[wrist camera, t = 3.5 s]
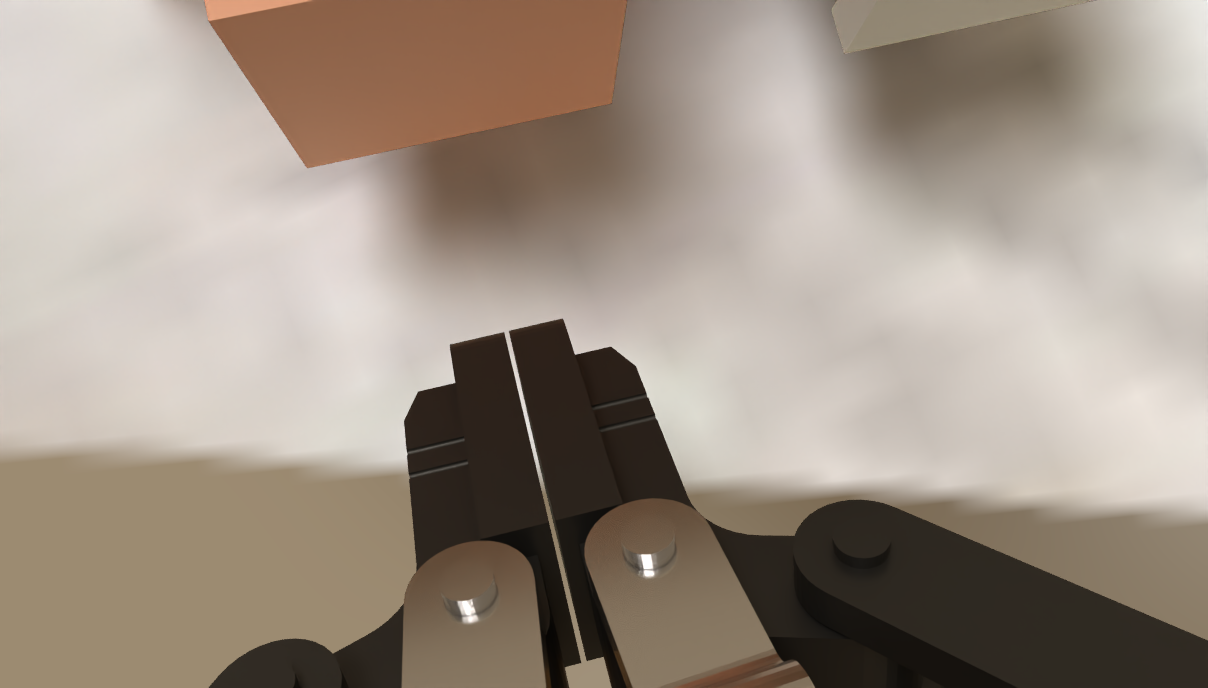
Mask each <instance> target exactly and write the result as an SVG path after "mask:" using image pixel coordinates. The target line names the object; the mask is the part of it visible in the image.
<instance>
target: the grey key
mask: <svg viewBox="0 0 1208 688" xmlns="http://www.w3.org/2000/svg"><path fill="white" fill-rule="evenodd" d="M1090 1H1095V0H837V1H836V2H835V4H834V6H833V8H832V10H831V12H832V15H833V18H834V22H835V25H836V28H837V32H838V35H839V38H840V42H841V45H842V48H843V52H844V54H846V53H851V52H856V51H860V50H865V49H870V48H875V47H879V46H884V45H889V44H893V43H898V42H903V41H907V40H912V39H917V38H921V37H926V36H931V35H936V34H940V33H945V32H950V31H954V30H959V29H964V28H968V27H973V26H978V25H983V24H987V23H992V22H997V21H1001V20H1006V19H1011V18H1015V17H1020V16H1025V15H1029V14H1034V13H1039V12H1044V11H1048V10H1053V9H1058V8H1062V7H1067V6H1072V5H1076V4H1081V3H1086V2H1090Z"/></svg>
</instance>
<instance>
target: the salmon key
mask: <svg viewBox="0 0 1208 688" xmlns="http://www.w3.org/2000/svg"><path fill="white" fill-rule="evenodd" d="M204 1H205V6H206V11H207V16H208V21H209V23H210V24H211V26H212V27H213V29H214V30H215V32H216V33H217V35H218V36H219V38H220V39H221V40H222V42H223V43H224V45H225V46H226V48H227V49H228V51H229V52H230V54H231V55H232V57H233V58H234V60H235V61H236V63H237V64H238V66H239V67H240V69H241V70H242V72H243V73H244V75H245V76H246V78H247V79H248V81H249V82H250V84H251V85H252V87H253V88H254V90H255V91H256V93H257V94H258V96H259V97H260V99H261V100H262V102H263V103H264V105H265V106H266V108H267V109H268V111H269V112H270V114H271V115H272V117H273V118H274V119H275V121H276V122H277V124H278V125H279V127H280V128H281V130H282V131H283V133H284V134H285V136H286V137H287V139H288V140H289V142H290V143H291V145H292V146H293V148H294V149H295V151H296V152H297V154H298V155H299V157H300V158H301V160H302V161H303V163H304V164H305V166H306V167H307V168H311V167H316V166H320V165H325V164H330V163H334V162H339V161H344V160H349V159H353V158H358V157H363V156H367V155H372V154H377V153H381V152H386V151H391V150H395V149H400V148H405V147H410V146H414V145H419V144H424V143H428V142H433V141H438V140H442V139H447V138H452V137H457V136H461V135H466V134H471V133H475V132H480V131H485V130H489V129H494V128H499V127H503V126H508V125H513V124H518V123H522V122H527V121H532V120H536V119H541V118H546V117H550V116H555V115H560V114H564V113H569V112H574V111H579V110H583V109H588V108H593V107H597V106H602V105H607V104H611V103H612V98H613V91H614V84H615V78H616V71H617V65H618V58H619V51H620V45H621V38H622V31H623V25H624V18H625V12H626V5H627V0H204Z"/></svg>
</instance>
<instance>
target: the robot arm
mask: <svg viewBox="0 0 1208 688" xmlns="http://www.w3.org/2000/svg"><path fill="white" fill-rule="evenodd" d="M509 333H510V338H511V342H512V347H513V351H514V356H515V360H516V364H517V369H518V373H519V378H520V382H521V386H522V391H523V395H524V400H525V404H526V408H527V413H528V417H529V422H530V426H531V430H532V435H533V439H534V443H535V448H536V452H537V456H538V460H539V465H540V469H541V473H542V477H543V481H544V485H545V490H546V494H547V498H548V502H549V506H550V510H551V514H552V519H553V523H554V527H555V531H556V535H557V539H558V543H559V548H560V551H561V556H562V560H563V564H564V568H565V573H566V577H567V581H568V585H569V589H570V593H571V597H572V601H573V606H574V610H575V614H576V618H577V622H578V626H579V631H580V635H581V639H582V643H583V647H584V652H585V656H586V660H587V661H588V660H592V659H596V658H600V657H604V659H605V663H606V667H607V671H608V675H609V679H610V683H611V686H612V688H1208V641H1207V640H1205V639H1203V638H1200V637H1198V636H1196V635H1193V634H1191V633H1189V632H1186V631H1184V630H1181V629H1179V628H1177V627H1175V626H1172V625H1170V624H1168V623H1165V622H1163V621H1161V620H1158V619H1156V618H1154V617H1151V616H1149V615H1146V614H1144V613H1142V612H1139V611H1137V610H1135V609H1132V608H1130V607H1128V606H1125V605H1123V604H1121V603H1118V602H1116V601H1114V600H1111V599H1109V598H1106V597H1104V596H1102V595H1099V594H1097V593H1094V592H1092V591H1090V590H1088V589H1085V588H1083V587H1081V586H1078V585H1076V584H1074V583H1071V582H1069V581H1067V580H1064V579H1062V578H1060V577H1057V576H1055V575H1052V574H1050V573H1048V572H1045V571H1043V570H1041V569H1038V568H1036V567H1034V566H1031V565H1029V564H1026V563H1024V562H1022V561H1020V560H1017V559H1015V558H1013V557H1010V556H1008V555H1005V554H1003V553H1001V552H998V551H996V550H994V549H991V548H989V547H987V546H984V545H982V544H980V543H977V542H975V541H973V540H970V539H968V538H965V537H963V536H961V535H959V534H956V533H954V532H951V531H949V530H947V529H944V528H942V527H940V526H937V525H935V524H933V523H930V522H928V521H926V520H923V519H921V518H918V517H916V516H914V515H912V514H909V513H907V512H904V511H902V510H900V509H897V508H895V507H892V506H890V505H887V504H884V503H880V502H875V501H868V500H847V501H840V502H836V503H833V504H829V505H826V506H824V507H822V508H820V509H818V510H816V511H815V512H813V513H812V514H810V515H809V516H808V517H807V518H806V519H805V520H804V521H803V522H802V523H801V525H800V526H799V528H798V529H797V531H796V534H795V536H759V535H747V534H742V533H736V532H732V531H730V530H726V529H724V528H721V527H719V526H717V525H715V524H713V523H712V522H710V521H708V520H707V519H705V518H704V517H703V516H702V515H701V514H700V513H698V512H697V510H696V509H695V508H694V507H693V505H692V504H691V502H690V500H689V498H688V496H687V494H686V491H685V489H684V486H683V484H682V481H681V479H680V476H679V474H678V471H677V469H676V466H675V464H674V461H673V459H672V456H671V454H670V451H669V449H668V446H667V444H666V441H665V438H664V436H663V433H662V431H661V428H660V426H659V423H658V421H657V420H656V418H655V413H654V411H653V408H652V406H651V403H650V401H649V398H647V394H646V391H645V388H644V386H643V383H642V381H641V378H640V376H639V373H638V371H637V368H636V366H635V365H634V364H632V363H631V362H630V361H628V360H627V359H626V358H625V357H623V356H622V355H621V354H620V353H618V352H617V351H616V350H615V349H613V348H612V347H607V348H603V349H599V350H594V351H590V352H586V353H581V354H577V355H575V354H574V351H573V348H572V344H571V341H570V338H569V335H568V332H567V329H566V326H565V323H564V320H563V319H558V320H554V321H550V322H545V323H541V324H537V325H532V326H528V327H524V328H519V329H515V330H511V331H509ZM450 351H451V357H452V364H453V370H454V376H455V383H454V384H449V385H445V386H441V387H436V388H432V389H428V390H424V391H419V392H418V393H417V395H416V397H415V399H414V401H413V403H412V405H411V408H410V410H409V412H408V414H407V416H406V418H405V420H404V426H405V437H406V449H407V453H408V455H407V460H408V471H409V476H410V479H409V483H410V494H411V506H412V516H413V528H414V540H415V551H416V563H417V571H416V573H415V574H414V576H413V577H412V579H411V581H410V583H409V584H408V587H407V590H406V593H405V599H404V604H403V605H402V606H401V607H400V609H399V610H398V612H396V613H395V614H394V615H393V616H392V617H391V618H390V619H389V620H388V621H387V622H386V623H384V624H383V625H382V626H380V627H379V628H378V629H376V630H375V631H373V632H371V633H370V634H368V635H366V636H365V637H363V638H361V639H359V640H357V641H355V642H354V643H352V644H350V645H348V646H346V647H345V648H343V649H341V650H339V651H337V652H335V653H334V654H332V653H331V652H330V651H329V650H328V649H327V648H325V647H324V646H322V645H320V644H318V643H316V642H313V641H309V640H305V639H284V640H279V641H274V642H270V643H268V644H265V645H262V646H259V647H257V648H255V649H253V650H251V651H249V652H247V653H246V654H244V655H243V656H241V657H239V658H238V659H237V660H235V661H234V662H233V663H232V664H230V665H229V666H228V667H227V668H226V669H225V670H224V671H223V672H222V673H221V674H220V675H219V676H218V677H217V679H216V680H215V681H214V682H213V683H212V685H210V687H209V688H569V685H568V681H567V676H566V671H565V667H567V666H571V665H575V664H579V663H581V660H580V655H579V651H578V647H577V642H576V638H575V634H574V629H573V625H572V621H571V616H570V612H569V608H568V603H567V599H566V595H565V591H564V586H563V581H562V577H561V573H560V569H559V564H558V560H557V555H556V551H555V547H554V542H553V538H552V534H551V529H550V525H549V521H548V516H547V512H546V508H545V504H544V499H543V495H542V491H541V487H540V482H539V478H538V474H537V470H536V465H535V461H534V457H533V453H532V448H531V444H530V440H529V436H528V432H527V427H526V423H525V419H524V415H523V410H522V406H521V402H520V398H519V393H518V389H517V385H516V381H515V376H514V372H513V368H512V364H511V359H510V355H509V351H508V347H507V342H506V338H505V334H504V332H503V333H498V334H494V335H490V336H485V337H481V338H477V339H472V340H468V341H464V342H459V343H455V344H450Z"/></svg>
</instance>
